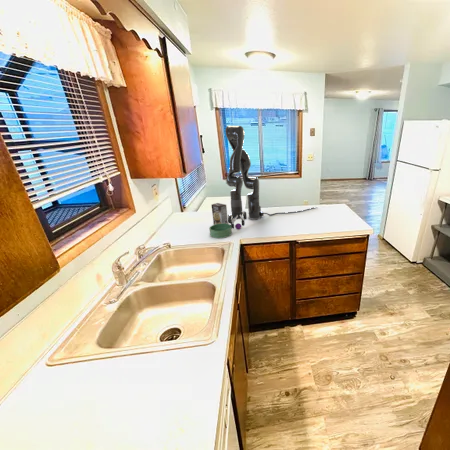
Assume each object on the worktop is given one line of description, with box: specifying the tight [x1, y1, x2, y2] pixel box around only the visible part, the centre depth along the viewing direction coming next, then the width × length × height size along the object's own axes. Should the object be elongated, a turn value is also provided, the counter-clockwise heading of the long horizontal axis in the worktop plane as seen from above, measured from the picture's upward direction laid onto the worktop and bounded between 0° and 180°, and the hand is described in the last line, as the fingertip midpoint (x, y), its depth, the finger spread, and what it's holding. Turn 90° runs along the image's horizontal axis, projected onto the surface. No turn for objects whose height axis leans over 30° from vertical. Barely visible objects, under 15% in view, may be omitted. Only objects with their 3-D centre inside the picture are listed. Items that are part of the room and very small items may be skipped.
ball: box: [234, 222, 242, 230], centre depth 172 cm, size 4×4×4 cm
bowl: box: [208, 223, 233, 239], centre depth 162 cm, size 14×14×6 cm
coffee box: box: [211, 202, 229, 225], centre depth 178 cm, size 9×6×16 cm
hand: (238, 226), depth 172 cm, fingers open, 8 cm apart
